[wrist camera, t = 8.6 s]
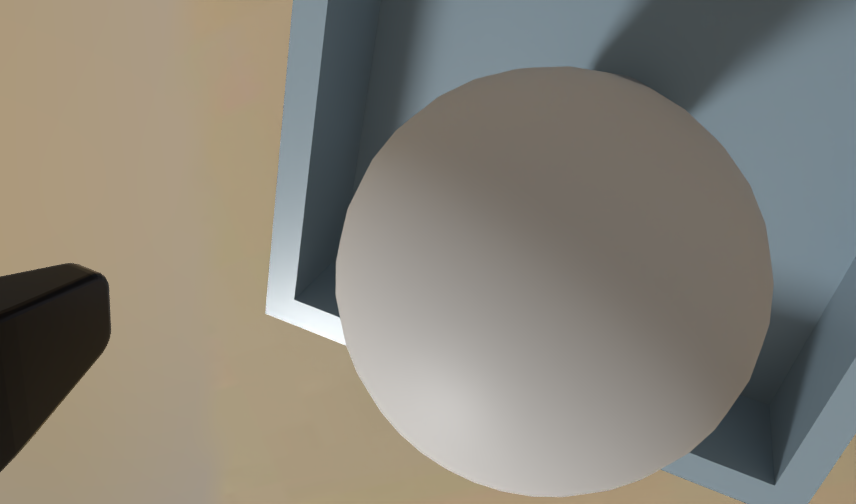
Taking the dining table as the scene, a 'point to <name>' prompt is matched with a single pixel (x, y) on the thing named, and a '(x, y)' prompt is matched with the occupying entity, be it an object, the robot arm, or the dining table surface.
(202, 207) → the dining table surface
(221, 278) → the dining table surface
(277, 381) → the dining table surface
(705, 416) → the lightbulb
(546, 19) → the parts tray
